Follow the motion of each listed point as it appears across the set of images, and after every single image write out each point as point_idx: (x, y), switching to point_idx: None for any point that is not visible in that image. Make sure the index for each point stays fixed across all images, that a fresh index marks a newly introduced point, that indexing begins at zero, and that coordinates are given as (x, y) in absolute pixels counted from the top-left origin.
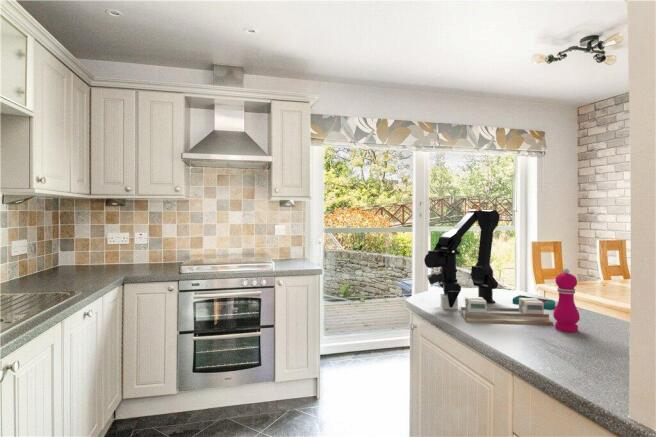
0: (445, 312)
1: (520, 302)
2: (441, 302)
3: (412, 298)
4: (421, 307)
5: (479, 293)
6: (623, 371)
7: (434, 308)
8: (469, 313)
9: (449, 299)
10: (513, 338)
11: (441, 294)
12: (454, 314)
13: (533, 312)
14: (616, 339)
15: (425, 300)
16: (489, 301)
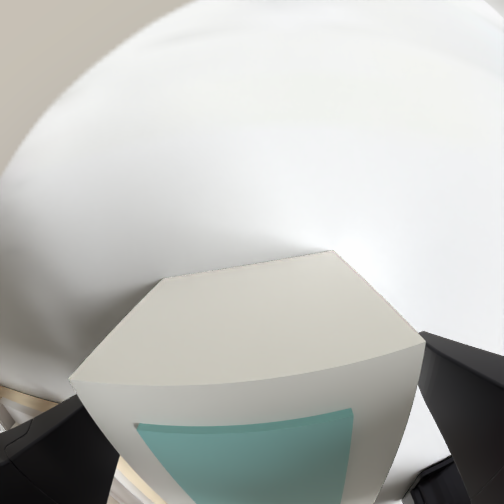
0: (51, 305)
1: None
2: (224, 294)
3: (489, 9)
4: (163, 25)
5: (458, 493)
6: None
7: (147, 175)
8: (6, 424)
9: (38, 428)
10: None
11: (358, 379)
12: (45, 364)
13: None
14: None
15: (495, 88)
16: (404, 499)
